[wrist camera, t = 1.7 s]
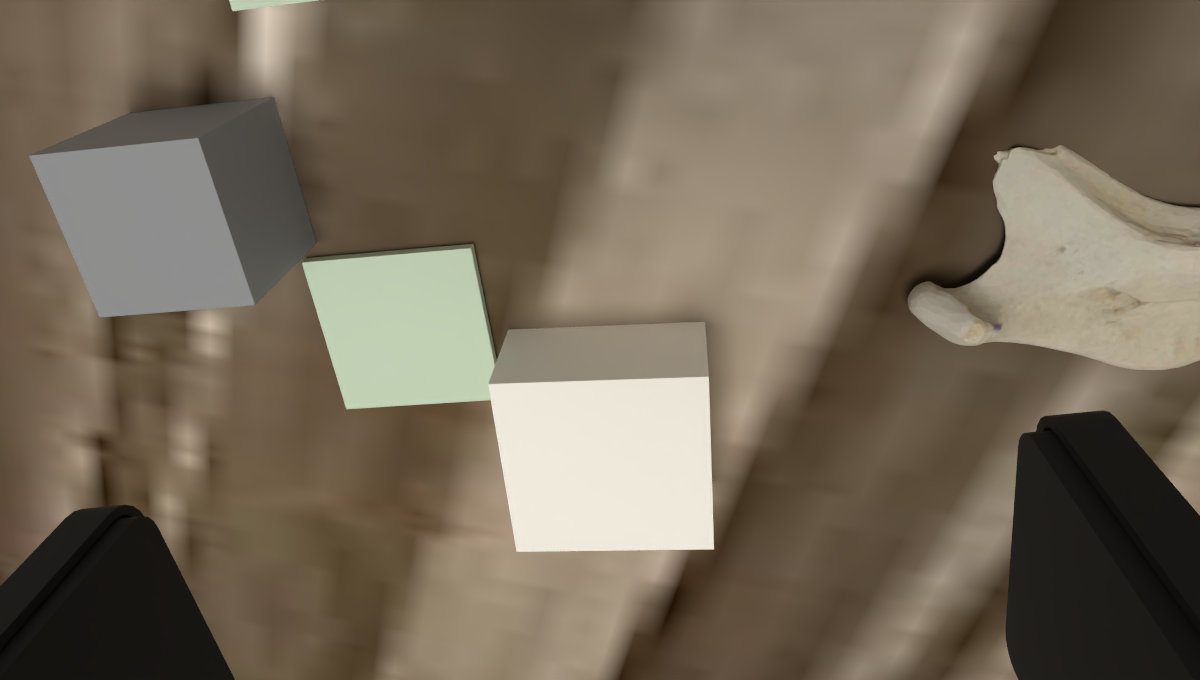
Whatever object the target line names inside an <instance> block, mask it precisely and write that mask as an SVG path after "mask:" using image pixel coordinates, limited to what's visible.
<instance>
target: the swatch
mask: <svg viewBox="0 0 1200 680" xmlns="http://www.w3.org/2000/svg"><path fill="white" fill-rule="evenodd" d="M302 265H303V268H304V271H305V275H306V278H307V281H308V284H309V288H310V291H311V294H312V297H313V301H314V304H315V307H316V311H317V314H318V317H319V320H320V324H321V327H322V330H323V334H324V337H325V340H326V343H327V347H328V350H329V353H330V357H331V360H332V363H333V366H334V370H335V373H336V376H337V379H338V383H339V386H340V389H341V393H342V396H343V399H344V402H345V406H346V409H355V408H371V407H387V406H403V405H419V404H435V403H451V402H467V401H483V400H491V398H490V392H489V386H488V383H489V380H490V378H491V375H492V372H493V370H494V367H495V364H496V362H497V358H496V354H495V349H494V344H493V339H492V334H491V329H490V324H489V319H488V314H487V309H486V304H485V299H484V294H483V289H482V284H481V279H480V274H479V269H478V264H477V259H476V254H475V250H474V245H473V244H464V245H453V246H441V247H429V248H418V249H406V250H395V251H383V252H371V253H360V254H348V255H337V256H325V257H313V258H306V259H305V260H304V261H303V262H302Z"/></svg>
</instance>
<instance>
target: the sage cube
mask: <svg viewBox="0 0 1200 680" xmlns="http://www.w3.org/2000/svg"><path fill="white" fill-rule="evenodd" d="M229 1H230V5H231V8H232V11H237V10H245V9H253V8H261V7H269V6H277V5H285V4H293V3H301V2H309V1H317V0H229Z"/></svg>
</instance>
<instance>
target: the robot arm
mask: <svg viewBox="0 0 1200 680" xmlns="http://www.w3.org/2000/svg"><path fill="white" fill-rule="evenodd" d="M1006 641H1007V647H1008V652H1009V656H1010V660H1011V663H1012V665H1013V668H1014V671H1015V673H1016V675H1017V677H1018V680H1200V516H1199V514H1198V513H1197V512H1196V511H1195V510H1194V509H1193V507H1192V506H1191V505H1190V504H1189V503H1188V502H1187V500H1186V499H1185V498H1184V497H1183V496H1182V495H1181V493H1180V492H1179V491H1178V490H1177V489H1176V488H1175V486H1174V485H1173V484H1172V483H1171V482H1170V481H1169V479H1168V478H1167V477H1166V476H1165V475H1164V474H1163V472H1162V471H1161V470H1160V469H1159V468H1158V467H1157V465H1156V464H1155V463H1154V462H1153V461H1152V460H1151V458H1150V457H1149V456H1148V455H1147V454H1146V453H1145V451H1144V450H1143V449H1142V448H1141V447H1140V446H1139V444H1138V443H1137V442H1136V441H1135V440H1134V438H1133V437H1132V436H1131V435H1130V434H1129V433H1128V431H1127V430H1126V429H1125V428H1124V427H1123V426H1122V424H1121V423H1120V422H1119V421H1118V420H1117V419H1116V418H1115V417H1114V416H1113V415H1112V414H1111V413H1110V412H1107V411H1093V412H1083V413H1072V414H1062V415H1052V416H1044V417H1043V418H1041V419H1040V421H1039V423H1038V425H1037V430H1036V432H1030V433H1024V434H1022V435H1021V437H1020V439H1019V445H1018V458H1017V472H1016V487H1015V501H1014V516H1013V530H1012V545H1011V559H1010V574H1009V588H1008V603H1007V617H1006ZM0 680H235V679H234V677H233V675H232V673H231V671H230V669H229V667H228V665H227V663H226V661H225V659H224V657H223V655H222V653H221V651H220V649H219V647H218V645H217V643H216V641H215V639H214V637H213V635H212V633H211V632H210V630H209V628H208V626H207V624H206V622H205V620H204V618H203V616H202V614H201V612H200V610H199V608H198V606H197V604H196V602H195V600H194V598H193V596H192V594H191V592H190V590H189V588H188V586H187V584H186V582H185V580H184V578H183V576H182V574H181V572H180V570H179V568H178V566H177V564H176V562H175V560H174V558H173V557H172V555H171V553H170V551H169V549H168V547H167V545H166V543H165V541H164V539H163V537H162V535H161V533H160V531H159V529H158V527H157V525H156V524H155V523H154V521H153V520H151V519H150V518H149V517H144V516H143V514H142V513H141V511H139V510H138V509H136V508H135V507H134V506H129V505H119V506H109V507H99V508H88V509H81V510H78V511H74V512H73V513H72V514H70V515H69V516H68V517H66V518H65V519H64V520H63V521H62V522H61V524H60V525H59V526H58V527H57V528H56V529H55V530H54V531H53V532H52V533H51V534H50V535H49V536H48V537H47V538H46V539H45V540H44V541H43V542H42V543H41V544H40V545H39V547H38V548H37V549H36V550H35V551H34V552H33V553H32V554H31V555H30V556H29V557H28V558H27V559H26V560H25V561H24V562H23V563H22V564H21V565H20V566H19V567H18V568H17V570H16V571H15V572H14V573H13V574H12V575H11V576H10V577H9V578H8V579H7V580H6V581H5V582H4V583H3V584H2V585H1V586H0Z"/></svg>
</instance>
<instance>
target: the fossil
mask: <svg viewBox="0 0 1200 680" xmlns="http://www.w3.org/2000/svg"><path fill="white" fill-rule="evenodd" d="M994 159H995V160H996V161H997V162H998V164H999V165H998V169H997V172H996V173H995V176H994V179H993V187H994V193H995V196H996V198H997V208H998V210H999V213H1000V215H1001V216H1002V218H1003V220H1004V224H1005V236H1006V239H1005V243H1004V248H1003V251H1002V254H1001V257H1000V258H999V260H998V261H997V262H996V263H995V264H994V265H992V266H991V267H990V268H989V269H988V270H987V271H986V272H985V273H984V274H983V275H981V276H980V277H979V278H978V279H976V280H974V281H973V282H971V283H969V284H966V285H964V286H961V287H957V288H942V287H940V286H938V285H935V284H934V283H932V282H924V283H921V284H919V285H917V286H915V287H914V288H913V290H912V291H911V292H910V294H909V296H908V307H909V309H910V311H911V312H912V313H913V314H914V315H915V316H916V317H917V318H918V319H919V320H920V321H921V322H923V323H924V324H925V325H926V326H927V327H929V328H930V329H932V330H933V331H935V332H936V333H938V334H939V335H941V336H942V337H944V338H945V339H947V340H949V341H951V342H953V343H955V344H959V345H965V346H973V345H980V344H982V343H987V342H1014V343H1021V344H1031V345H1036V346H1042V347H1046V348H1051V349H1056V350H1060V351H1065V352H1070V353H1074V354H1078V355H1082V356H1085V357H1089V358H1092V359H1095V360H1098V361H1101V362H1105V363H1108V364H1111V365H1114V366H1119V367H1123V368H1128V369H1136V370H1165V369H1171V368H1177V367H1182V366H1185V365H1188V364H1191V363H1194V362H1196V361H1199V360H1200V208H1196V207H1184V206H1175V205H1171V204H1167V203H1164V202H1161V201H1157V200H1154V199H1151V198H1149V197H1146V196H1144V195H1141V194H1139V193H1138V192H1136V191H1135V190H1133V189H1131V188H1129V187H1127V186H1125V185H1123V184H1122V183H1120V182H1118V181H1117V180H1115V179H1114V178H1111V177H1110V176H1109V175H1108V174H1107V173H1105V172H1104V171H1102V170H1100V169H1099V168H1097V167H1096V166H1095V165H1093V164H1092V163H1090V162H1089V161H1087V160H1086V159H1084V158H1083V157H1081V156H1080V155H1078V154H1076V153H1075V152H1073V151H1072V150H1070V149H1068V148H1066V147H1064V146H1062V145H1059V146H1057V147H1055V148H1053V149H1046V148H1045V149H1043V150H1035V149H1031V148H1024V147H1017V148H1013V149H1010V150H1007V151H999V152H997V154H996V155H994Z"/></svg>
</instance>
